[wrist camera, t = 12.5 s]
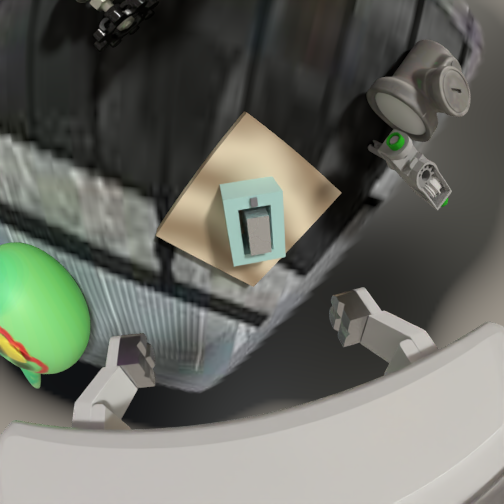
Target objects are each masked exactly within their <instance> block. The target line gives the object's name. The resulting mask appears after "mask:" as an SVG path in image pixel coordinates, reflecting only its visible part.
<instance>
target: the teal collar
mask: <svg viewBox="0 0 504 504" xmlns="http://www.w3.org/2000/svg"><path fill="white" fill-rule="evenodd" d="M220 190H221V196H222V202H223V208H224V214H225V220H226V226H227V232H228V238H229V244H230V249H231V254H232V259H233V264H234V266H240V265H245V264H251V263H256V262H261V261H267V260H272V259H277V258H283V257H286V255H285V229H284V206H283V191H282V189H281V188H280V186H279V185H278V184H277V182H276V181H275V179H274V178H273V177H272V176H271V177H264V178H257V179H250V180H244V181H237V182H231V183H225V184H220ZM260 206H265V208H266V211H267V213H268V215H269V222H270V236H271V250H272V252H269V253H264V254H258V255H253V256H251V253H250V250H249V247H248V243H247V240H246V236H245V233H243V234H241V228H240V221H239V214H238V210H242V209H248V208H254V207H260Z"/></svg>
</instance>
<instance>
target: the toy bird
mask: <svg viewBox="0 0 504 504" xmlns="http://www.w3.org/2000/svg"><path fill="white" fill-rule="evenodd" d="M89 336H90V315H89V310H88V307H87V304H86V301H85V298H84V296H83V294H82V292H81V290H80V288H79V287H78V285H77V283H76V282H75V280H74V279H73V278H72V276H71V275H70V274H69V272H68V271H67V270H66V269H65V268H64V267H63V266H62V265H61V264H60V263H59V262H58V261H57V260H55V259H54V258H53V257H52V256H50V255H49V254H47V253H46V252H44V251H42V250H41V249H39V248H37V247H34V246H32V245H29V244H25V243H6V244H3V245H0V354H1V355H2V356H3V357H5V358H6V359H7V360H9V361H10V362H12V363H13V364H15V365H17V366H19V367H20V368H21V369H22V371H23V373H24V374H25V376H26V378H27V379H28V381H29V382H30V383H31V385H32V386H34V387H35V388H39V387H40V384H41V375H40V374H54V373H58V372H61V371H64V370H66V369H68V368H69V367H71V366H72V365H73V364H74V363H76V362H77V361H78V359H79V358H80V357H81V356H82V354H83V353H84V351H85V349H86V347H87V344H88V341H89Z"/></svg>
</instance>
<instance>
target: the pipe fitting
mask: <svg viewBox="0 0 504 504" xmlns="http://www.w3.org/2000/svg"><path fill="white" fill-rule="evenodd" d="M366 96H367V100H368V103H369V105H370V106H371V108H372V109H373V110H374V112H375V113H376V114H377V115H378V116H379V117H380V118H381V119H382V120H383V121H384V122H385V123H387V124H388V125H389V126H390V127H391V128H393V129H396V130H398V131H401V132H403V133H406V134H407V135H408V136H409V137H410V139H412V140H415V141H420V142H426V141H428V140H429V139H430V138H431V136H432V135H433V133H434V131H435V130H436V128H437V125H438V119H437V113H438V112H439V113H446V114H447V115H450V116H456V117H461V116H463V115H465V114H466V113H467V111H468V109H469V106H470V90H469V86H468V83H467V81H466V79H465V77H464V76H463V74H462V73H461V66H460V64H459V62H458V61H457V60H456V59H455V58H454V57H453V56H452V54H451V53H450V52H449V51H448V50H447V49H446V48H445V47H443V46H442V45H440V44H439V43H437V42H434V41H431V40H421V41H419V42H417V43H416V44H415V46H414V47H413V48H412V49H411V51H410V52H409V54H408V55H407V56H406V58H405V59H404V61H403V62H402V63H401V65H400V66H399V67H398V69H397V70H396V72H395V73H394V74H393V76H392V77H382V78H379V79H378V80H376V81H375V82H374V84H373V85H372V86H371V87H370V89H369V90H368V92H367V95H366Z"/></svg>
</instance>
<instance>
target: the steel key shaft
mask: <svg viewBox="0 0 504 504" xmlns="http://www.w3.org/2000/svg"><path fill="white" fill-rule="evenodd" d="M241 215H242V222H243V230H244V233H245V236H246V240H247V243H248V247H249V250H250V253H251V256H253V255H258V254H264V253H269V252H272V250H271V236H270V222H269V215H268V213H267V211H266V208H265V206H260V207H254V208H248V209H242V210H241Z"/></svg>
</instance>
